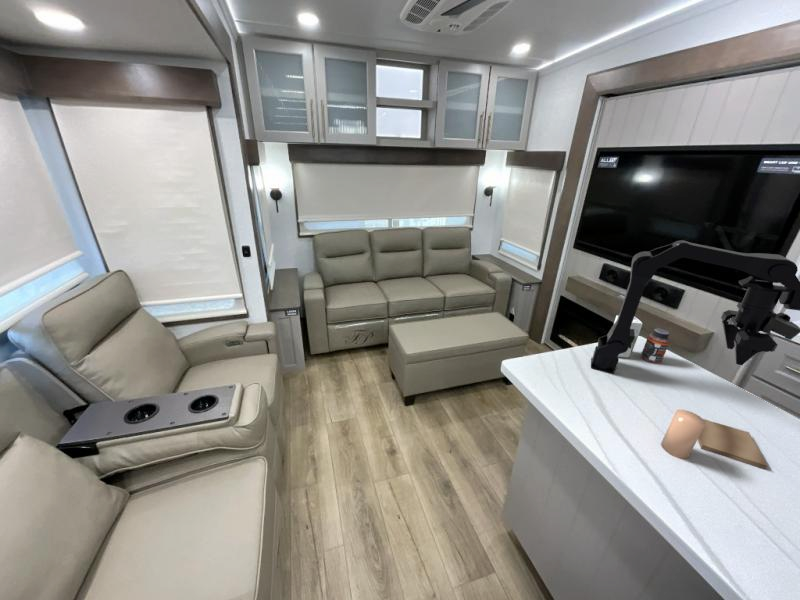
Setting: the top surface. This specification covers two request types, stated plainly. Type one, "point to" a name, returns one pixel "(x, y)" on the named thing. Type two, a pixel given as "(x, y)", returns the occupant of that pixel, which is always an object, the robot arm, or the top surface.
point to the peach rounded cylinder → (682, 433)
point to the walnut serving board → (730, 443)
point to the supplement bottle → (656, 346)
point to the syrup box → (637, 327)
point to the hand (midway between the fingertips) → (734, 356)
